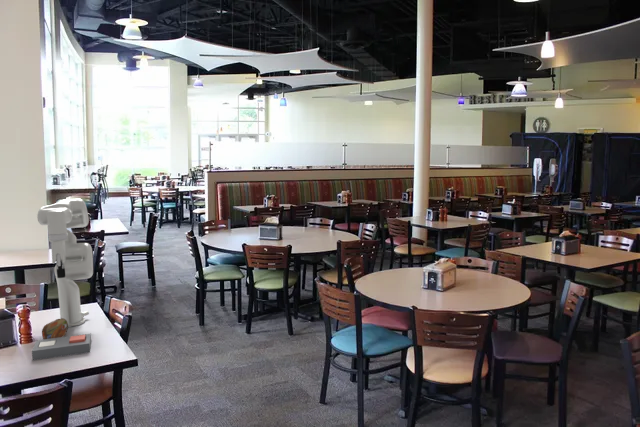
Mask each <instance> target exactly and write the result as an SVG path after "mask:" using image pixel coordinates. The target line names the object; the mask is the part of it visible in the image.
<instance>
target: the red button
mask: <svg viewBox="0 0 640 427" xmlns="http://www.w3.org/2000/svg"><path fill="white" fill-rule="evenodd" d="M77 335H78V336H75V335H70V336H71V337H70V341H69V342H70V343H76V342H83V341H86V335H82V334H77Z"/></svg>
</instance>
